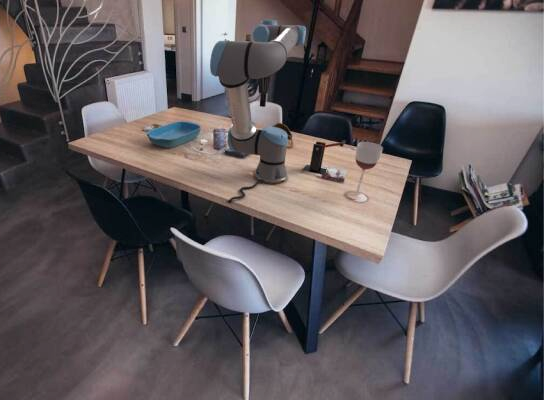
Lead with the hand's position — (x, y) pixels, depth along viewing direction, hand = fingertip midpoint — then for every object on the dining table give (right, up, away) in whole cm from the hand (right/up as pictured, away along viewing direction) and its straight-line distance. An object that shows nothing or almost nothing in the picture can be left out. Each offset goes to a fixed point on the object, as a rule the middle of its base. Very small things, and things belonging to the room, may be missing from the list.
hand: (262, 106), depth 160 cm
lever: (+30, -24, -16) cm, 42 cm away
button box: (-12, -23, +13) cm, 29 cm away
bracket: (+25, -35, -6) cm, 43 cm away
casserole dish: (-50, -12, +30) cm, 60 cm away
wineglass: (+37, -48, -28) cm, 66 cm away
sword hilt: (+15, -15, +27) cm, 35 cm away
